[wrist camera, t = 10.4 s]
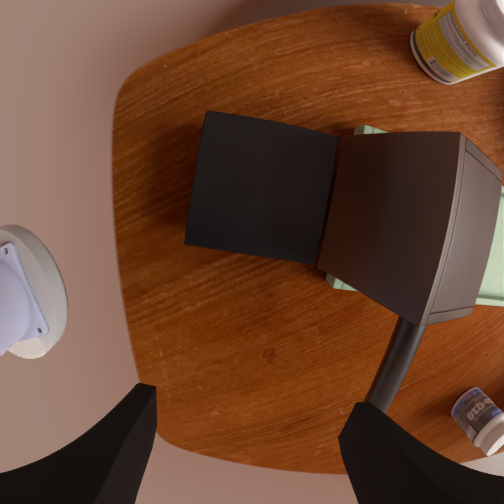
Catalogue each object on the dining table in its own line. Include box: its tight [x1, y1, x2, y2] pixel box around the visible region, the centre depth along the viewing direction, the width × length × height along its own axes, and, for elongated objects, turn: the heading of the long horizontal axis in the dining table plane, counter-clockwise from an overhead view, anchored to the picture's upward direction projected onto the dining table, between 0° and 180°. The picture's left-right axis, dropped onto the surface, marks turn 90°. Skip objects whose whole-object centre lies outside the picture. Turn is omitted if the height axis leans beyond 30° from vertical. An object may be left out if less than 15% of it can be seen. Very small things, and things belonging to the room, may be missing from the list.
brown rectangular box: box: [317, 132, 503, 414], centre depth 13 cm, size 7×14×5 cm
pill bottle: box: [451, 387, 504, 456], centre depth 20 cm, size 5×5×8 cm
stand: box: [184, 111, 339, 264], centre depth 16 cm, size 7×7×4 cm
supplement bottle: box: [410, 0, 504, 84], centre depth 11 cm, size 5×5×10 cm
